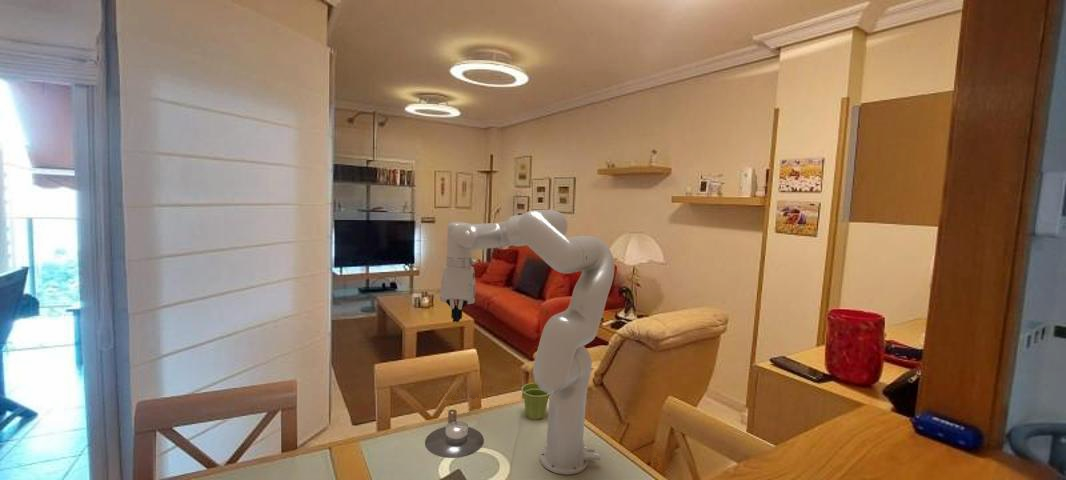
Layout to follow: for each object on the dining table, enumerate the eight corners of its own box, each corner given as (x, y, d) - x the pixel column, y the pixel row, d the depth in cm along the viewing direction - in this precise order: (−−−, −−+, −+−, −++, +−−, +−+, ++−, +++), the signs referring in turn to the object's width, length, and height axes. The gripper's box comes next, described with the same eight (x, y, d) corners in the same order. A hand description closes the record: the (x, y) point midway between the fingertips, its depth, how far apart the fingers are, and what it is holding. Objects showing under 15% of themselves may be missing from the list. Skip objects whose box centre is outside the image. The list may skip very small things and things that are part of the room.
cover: (459, 431, 130) (460, 418, 130) (471, 441, 126) (472, 427, 125) (441, 438, 126) (441, 424, 126) (452, 448, 122) (453, 434, 121)
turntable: (463, 423, 137) (464, 404, 136) (495, 447, 125) (496, 426, 124) (414, 440, 126) (414, 420, 125) (444, 469, 114) (445, 446, 114)
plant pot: (547, 425, 139) (548, 397, 138) (517, 420, 140) (518, 393, 139) (552, 410, 148) (553, 385, 147) (523, 406, 150) (525, 381, 149)
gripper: (485, 262, 143) (482, 319, 145) (438, 259, 143) (436, 315, 146) (480, 266, 135) (478, 326, 137) (431, 262, 136) (429, 322, 138)
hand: (456, 320), depth 141 cm, fingers closed
